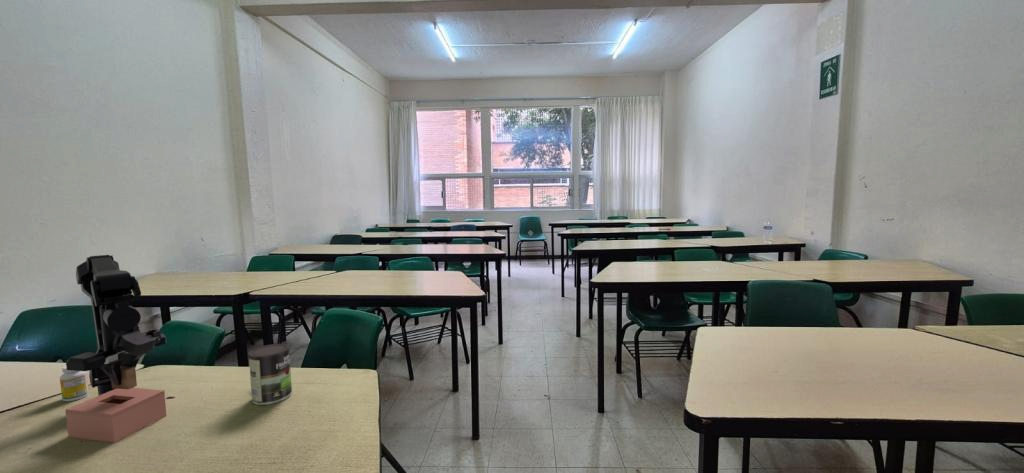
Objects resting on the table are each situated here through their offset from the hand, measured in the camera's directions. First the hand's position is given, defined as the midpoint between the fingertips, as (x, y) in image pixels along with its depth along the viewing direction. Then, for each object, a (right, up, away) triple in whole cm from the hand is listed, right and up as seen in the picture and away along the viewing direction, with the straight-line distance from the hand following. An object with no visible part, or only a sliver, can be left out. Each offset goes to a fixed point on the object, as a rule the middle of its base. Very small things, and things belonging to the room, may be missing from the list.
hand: (123, 382), depth 102 cm
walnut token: (0, -1, 0) cm, 1 cm away
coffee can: (+29, -10, +15) cm, 34 cm away
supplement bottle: (-29, -10, +15) cm, 34 cm away
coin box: (-1, -11, 0) cm, 11 cm away
